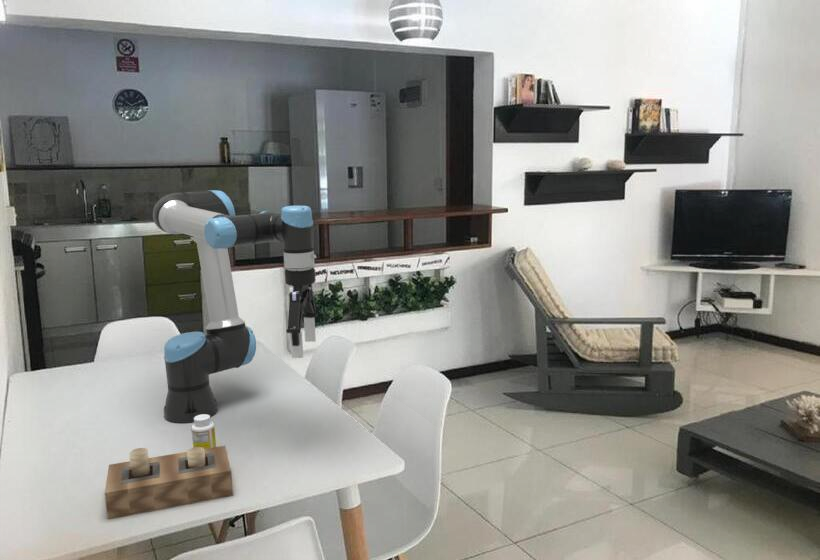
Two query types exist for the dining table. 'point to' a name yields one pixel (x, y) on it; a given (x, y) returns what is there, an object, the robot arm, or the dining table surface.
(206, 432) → the supplement bottle
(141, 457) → the beige round peg
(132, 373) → the dining table surface
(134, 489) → the socket block
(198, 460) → the short peg
